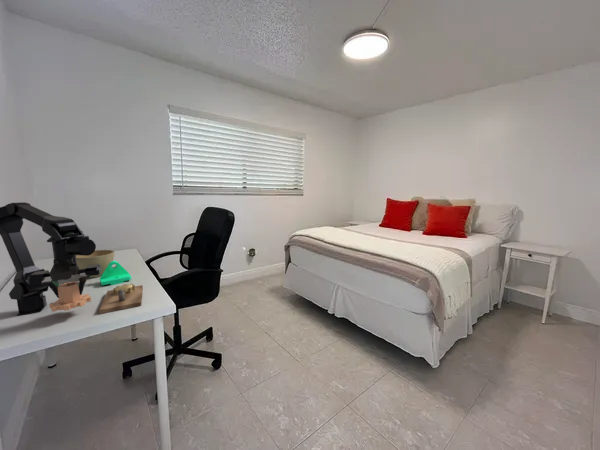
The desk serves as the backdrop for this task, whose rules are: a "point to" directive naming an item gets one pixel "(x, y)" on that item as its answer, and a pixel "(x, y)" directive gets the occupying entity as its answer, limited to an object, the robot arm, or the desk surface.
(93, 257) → the tan bowl
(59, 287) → the gear
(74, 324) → the desk surface
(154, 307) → the desk surface
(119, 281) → the camera mount
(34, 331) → the desk surface
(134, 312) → the desk surface
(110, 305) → the carrier
